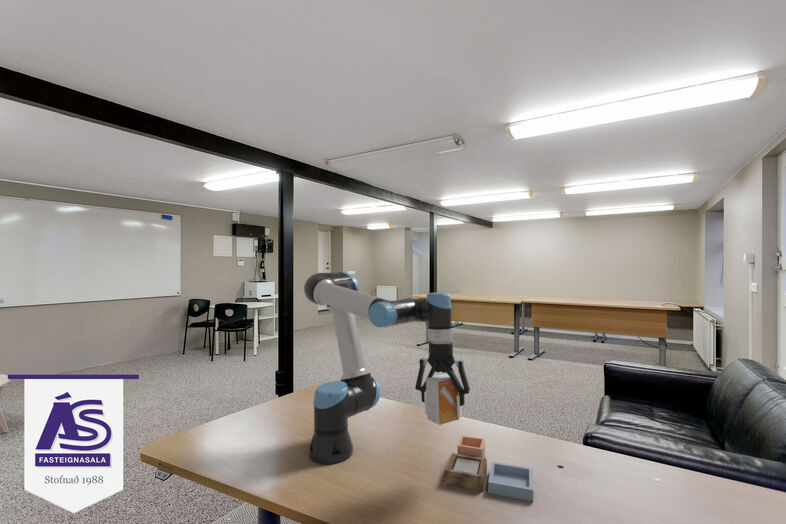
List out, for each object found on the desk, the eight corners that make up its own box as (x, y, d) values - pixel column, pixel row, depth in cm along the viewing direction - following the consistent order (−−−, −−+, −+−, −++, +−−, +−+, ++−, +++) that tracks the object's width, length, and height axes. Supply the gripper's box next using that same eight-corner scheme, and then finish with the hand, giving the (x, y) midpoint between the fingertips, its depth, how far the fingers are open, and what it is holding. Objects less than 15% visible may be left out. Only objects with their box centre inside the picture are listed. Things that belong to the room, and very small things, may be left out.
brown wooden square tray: (445, 483, 110) (445, 470, 110) (452, 465, 120) (452, 453, 121) (483, 491, 106) (483, 476, 106) (486, 471, 117) (486, 458, 117)
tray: (488, 493, 105) (488, 482, 105) (491, 471, 117) (491, 461, 117) (533, 501, 101) (533, 490, 101) (532, 478, 113) (532, 468, 113)
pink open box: (457, 464, 121) (457, 445, 121) (461, 452, 129) (461, 435, 129) (482, 468, 119) (482, 449, 119) (485, 456, 126) (484, 438, 126)
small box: (439, 425, 110) (437, 381, 111) (426, 419, 116) (425, 377, 116) (460, 419, 115) (458, 377, 115) (446, 413, 120) (445, 373, 121)
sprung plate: (452, 474, 111) (452, 470, 111) (457, 461, 118) (457, 457, 118) (476, 479, 109) (476, 474, 109) (479, 465, 116) (479, 461, 116)
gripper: (403, 342, 117) (405, 414, 116) (474, 345, 109) (477, 422, 108) (410, 338, 124) (412, 406, 123) (478, 340, 116) (481, 413, 115)
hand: (443, 414), depth 115 cm, fingers closed on small box, 10 cm apart
